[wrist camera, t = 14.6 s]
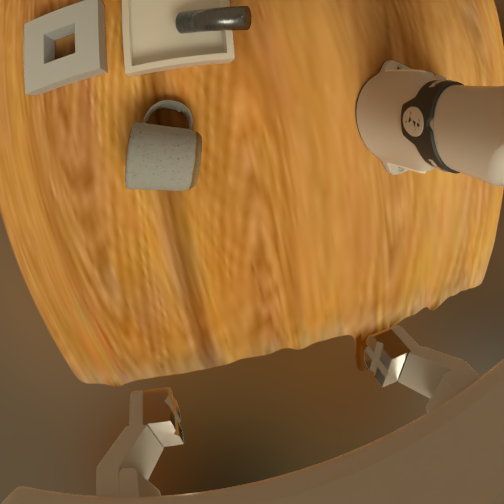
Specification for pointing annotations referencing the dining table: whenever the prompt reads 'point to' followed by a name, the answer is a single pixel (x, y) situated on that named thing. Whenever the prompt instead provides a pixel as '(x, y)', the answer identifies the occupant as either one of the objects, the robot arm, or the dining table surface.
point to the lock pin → (214, 19)
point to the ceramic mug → (163, 153)
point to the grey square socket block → (72, 66)
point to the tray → (170, 37)
